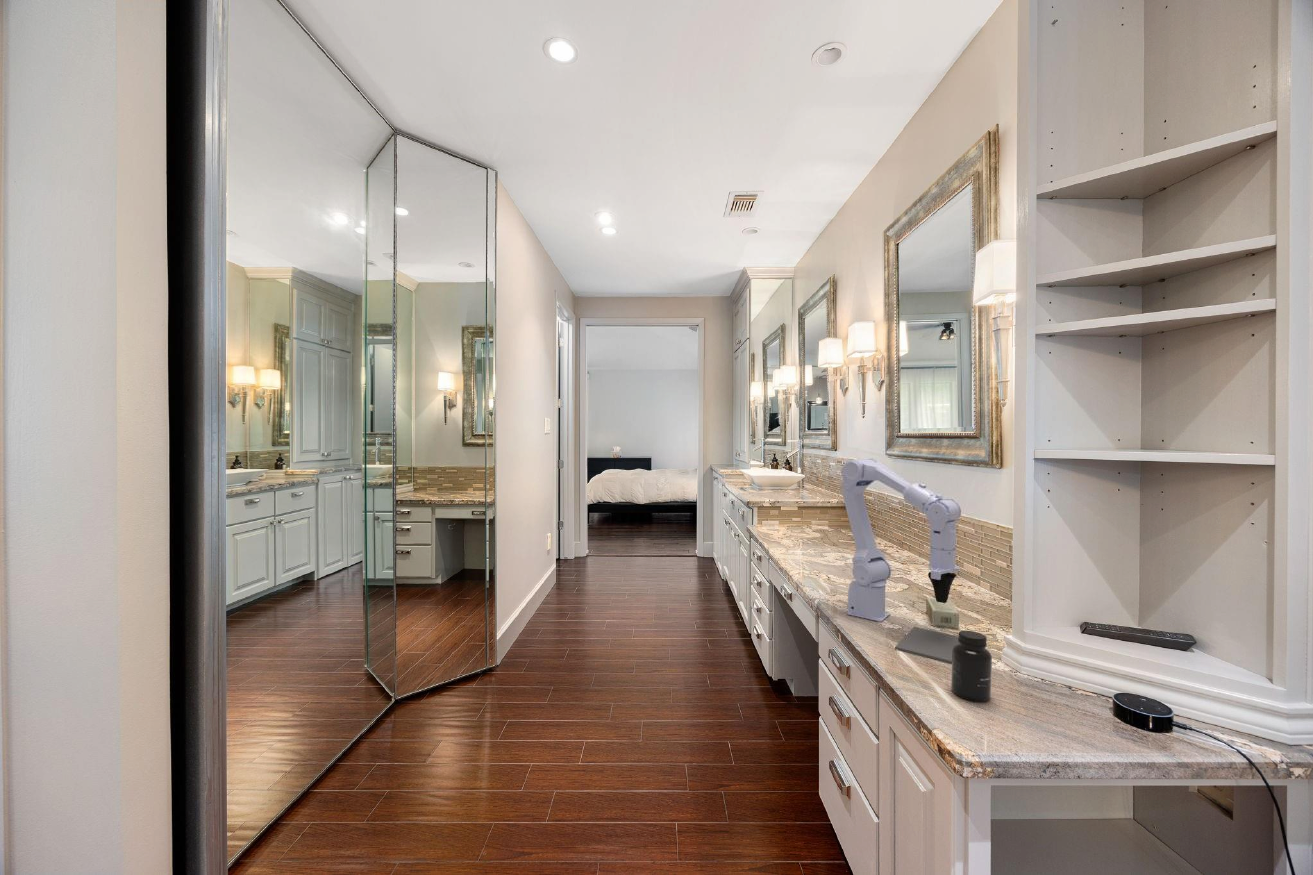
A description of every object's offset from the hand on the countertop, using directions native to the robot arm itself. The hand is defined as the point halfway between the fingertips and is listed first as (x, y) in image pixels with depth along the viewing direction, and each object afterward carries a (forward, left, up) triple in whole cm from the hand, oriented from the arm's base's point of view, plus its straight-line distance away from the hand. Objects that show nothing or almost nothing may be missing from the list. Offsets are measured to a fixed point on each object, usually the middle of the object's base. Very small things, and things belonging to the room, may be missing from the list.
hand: (941, 601), depth 135 cm
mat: (0, -5, -9) cm, 11 cm away
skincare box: (-1, +9, -7) cm, 11 cm away
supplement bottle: (+11, -27, -10) cm, 31 cm away
